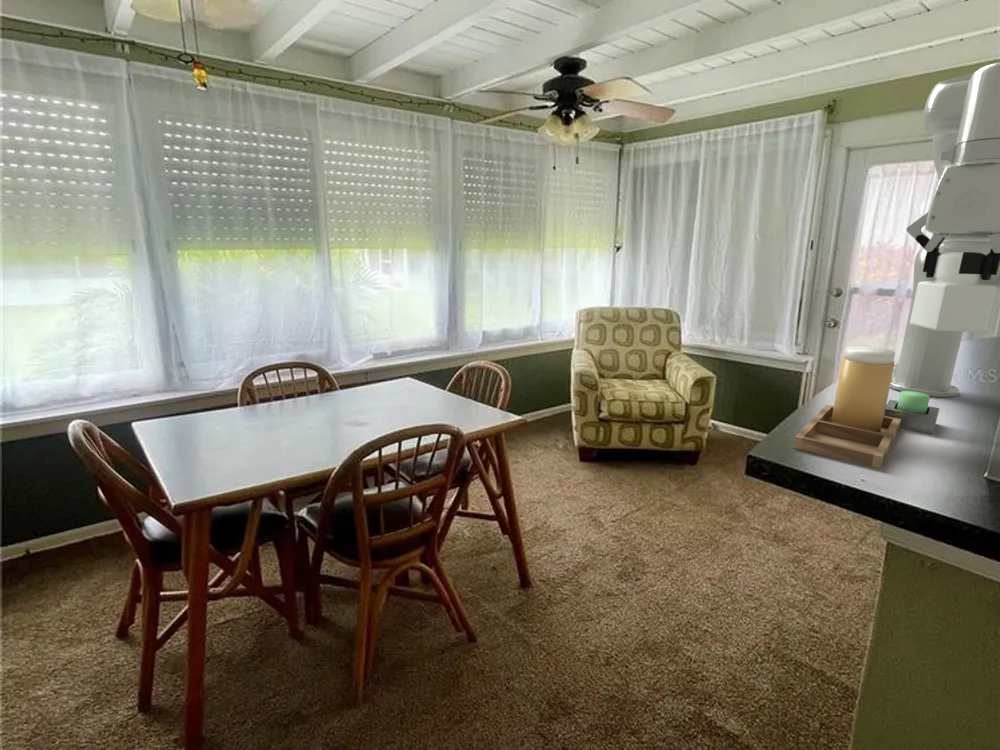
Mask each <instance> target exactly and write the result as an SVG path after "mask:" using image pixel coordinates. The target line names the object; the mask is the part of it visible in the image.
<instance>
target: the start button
mask: <svg viewBox="0 0 1000 750" xmlns="http://www.w3.org/2000/svg"><path fill="white" fill-rule="evenodd" d="M930 399H931V396H929V395H927V394H923V393H919V392H913V391H900V392H899V397H898V400H897V401H898V406H897V409H899V410H904V411H910V412H915V413H921V414H926V412H927V407H928V406H929V403H930Z"/></svg>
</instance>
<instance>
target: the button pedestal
mask: <svg viewBox="0 0 1000 750" xmlns="http://www.w3.org/2000/svg"><path fill="white" fill-rule="evenodd" d="M898 401H899V400H894V399H889V401H887V403H886V408H885V413H884V416H888V417H893V418H898V419H901V423H900V427H899V429H902V430H908V431H912V432H913V431H914V432H917V433H923V434H928V435H934V431H935V427H936V424H937V420H938V416H939V411H940V407H935V406H929V405H928V407H927V412H926V414H921V413H915V412H910V411H904V410H899V409H897V406H898Z"/></svg>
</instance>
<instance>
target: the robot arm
mask: <svg viewBox="0 0 1000 750" xmlns="http://www.w3.org/2000/svg"><path fill="white" fill-rule="evenodd" d="M923 109H924V110H923V116H922V122H923V128H924V129H925V131H926V132H927V133H929V134H932V135H933V136H932V159H933V164H934V166H935V171H936V174H937V180H938V181H937V183H936V185H935V188H934V189H935V190H934V191H933V196H932V198H931V202H930V205H929V209H928V211H927V212H926V213H925V214H924V215H922V216H921V217H919V218H918V219H916V220H915V221H914V222H913V223H911V224H909V226H907V227H906V232H907V233H908V234H909V235H910V236H911V237H912V238H913V239H914V240H915V241H916V242H917V244H918V245H920V247H921V248H920V249H919V250H918V252H917V254H916V255H915V259H914V264H913V283H912V285H913V286H912V294H911V295H912V296H911V302H910V307H909V312H908V317H907V321H906V325H905V332H904V336H903V340H902V341H903V342H902V345H901V350H900V355H899V360H898V362H895V365H894V369H893V374H892V379H891V384H890V389H893V390H896V391H900V392H902V391H913V392H919V393H923V394H927V395H929V396H930V397H934V398H936V397H937V398H949V397H950V398H951V397H956V396H958V395H959V393H960V389H959V387H957V386H954V385H952V380H953V376H954V372H955V367H956V364H957V359H958V355H959V351H960V346H961V342H962V337H963V334H964V332H961V331H937V330H933V329H928V328H924V327H920V326H915V325H911V324H910V319H911V314H912V310H913V305H914V300H915V295H916V291H917V286H918V283H919V282H923V281H935V277H933V275H934V270H935V265H936V261H937V256H939V255H940V254H943V253H946V252H976V253H982V254H984V255H987V256H986V260H985V264H984V268H983V273H982V277H981V279H980V282H979V284H988V285H994V286H996V287H997V290H996V292H999V291H1000V61H999V62H994V63H990V64H988V65H985V66H983V67H980V68H979V69H977V70H976V71H974V72H973V73H970V74H966V75H963V76H959V77H954V78H951V79H946V80H943V81H939V82H938V83H937V84H935V86H934V87H933V88H932V89H931V92H930V93H929V95H928V97H927V99H926V102H925V105H924V108H923ZM923 227H925V230H926V231H927V232H929V233H931V234H932V236H931V237H930V238H929V237H928V236H927V235H926V234H925V233H924V232H923V231H922V228H923Z"/></svg>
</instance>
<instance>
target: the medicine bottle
mask: <svg viewBox="0 0 1000 750" xmlns="http://www.w3.org/2000/svg"><path fill="white" fill-rule="evenodd" d="M986 256H987V255H984V254H982V253H976V252H946V253H943V254H940V255H939V256H937V261H936V265H935V270H934V275H933V277H935V281H923V282H919V283H918V286H917V291H916V295H915V300H914V305H913V310H912V314H911V319H910V324H911V325H915V326H920V327H924V328H928V329H933V330H937V331H961V332H963V333H965V332H967V333H969V332H970V333H986V332H987V330H988V326H989V323H990V322H989V321H990V318H991V313H992V309H993V306H994V305H993V304H994V301H995V298H996V294H997V291H996V290H997V287H996V286H994V285H988V284H979V282H980V279H981V277H982V273H983V268H984V264H985V260H986Z"/></svg>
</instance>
